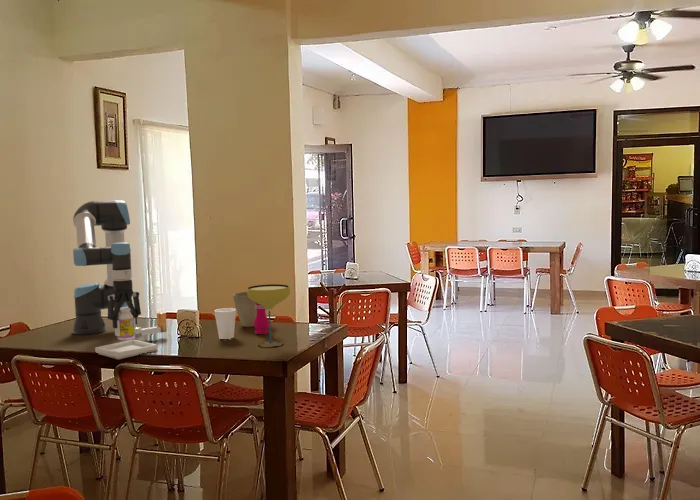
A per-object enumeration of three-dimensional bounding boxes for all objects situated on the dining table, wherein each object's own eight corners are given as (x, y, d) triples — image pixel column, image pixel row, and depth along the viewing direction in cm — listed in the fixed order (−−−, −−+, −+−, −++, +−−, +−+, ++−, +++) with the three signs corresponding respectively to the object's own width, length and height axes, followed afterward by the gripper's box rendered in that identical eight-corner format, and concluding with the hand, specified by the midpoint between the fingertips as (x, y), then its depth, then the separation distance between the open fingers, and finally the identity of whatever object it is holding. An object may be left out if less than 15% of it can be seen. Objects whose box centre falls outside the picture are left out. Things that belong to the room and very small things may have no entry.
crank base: (122, 342, 294) (121, 333, 293) (140, 339, 301) (139, 329, 300) (133, 345, 288) (133, 335, 288) (151, 341, 295) (151, 331, 295)
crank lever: (133, 337, 291) (132, 318, 290) (130, 335, 294) (128, 317, 294) (168, 331, 301) (167, 313, 301) (164, 330, 305) (163, 312, 304)
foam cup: (211, 338, 297) (210, 310, 296) (228, 335, 304) (227, 307, 303) (224, 341, 291) (223, 312, 290) (241, 337, 298) (239, 309, 297)
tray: (95, 353, 275) (95, 347, 275) (134, 345, 289) (133, 339, 289) (118, 359, 263) (118, 353, 263) (157, 350, 277) (157, 344, 277)
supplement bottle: (114, 340, 273) (112, 309, 272) (122, 337, 279) (120, 307, 278) (129, 340, 272) (128, 309, 271) (137, 337, 278) (135, 307, 277)
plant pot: (237, 322, 334) (236, 291, 333) (267, 322, 333) (265, 291, 332) (231, 328, 319) (230, 296, 318) (261, 328, 319) (260, 295, 317)
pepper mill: (266, 335, 302) (265, 292, 300) (251, 335, 303) (250, 292, 301) (271, 332, 309) (270, 289, 307) (257, 331, 310) (255, 289, 308)
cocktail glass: (300, 342, 285) (298, 285, 283) (274, 351, 269) (272, 291, 267) (266, 338, 294) (264, 283, 292) (240, 347, 279) (238, 289, 276)
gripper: (105, 282, 264) (108, 339, 266) (148, 277, 279) (151, 331, 280) (95, 281, 269) (99, 337, 270) (138, 276, 283) (141, 329, 285)
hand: (125, 334), depth 275 cm, fingers closed on supplement bottle, 7 cm apart
